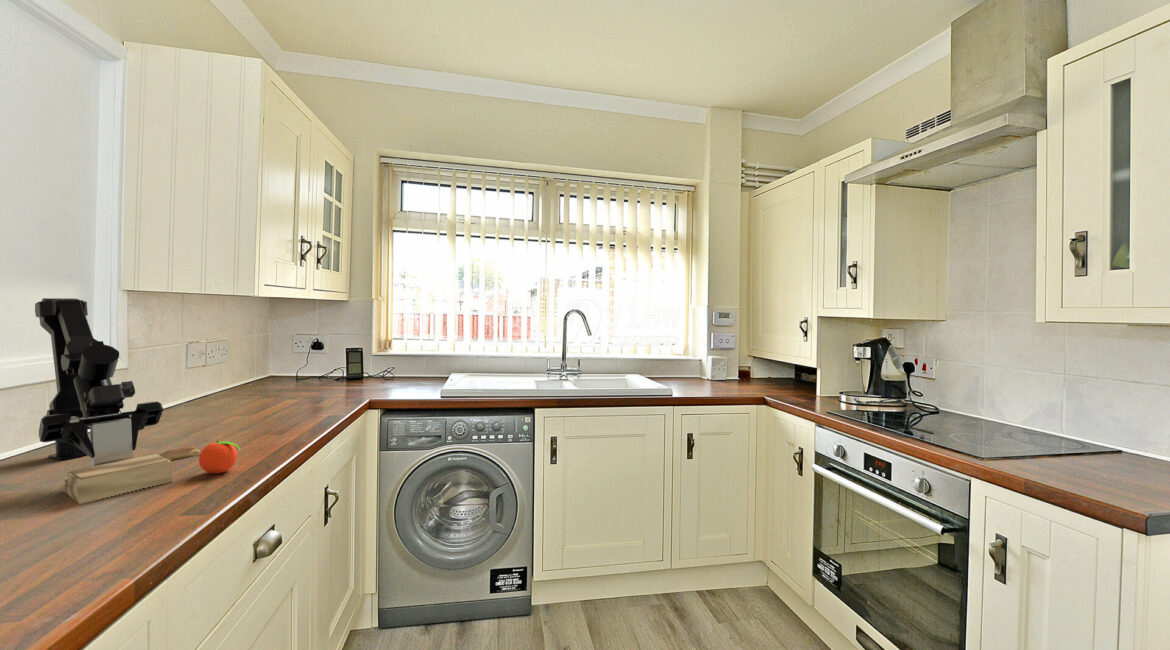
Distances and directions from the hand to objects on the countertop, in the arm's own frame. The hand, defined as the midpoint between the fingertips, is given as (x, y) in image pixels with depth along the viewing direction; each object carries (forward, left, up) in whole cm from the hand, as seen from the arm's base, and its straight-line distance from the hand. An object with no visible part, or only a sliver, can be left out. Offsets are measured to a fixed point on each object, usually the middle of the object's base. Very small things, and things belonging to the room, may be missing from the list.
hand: (114, 452), depth 104 cm
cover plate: (-1, 0, -7) cm, 7 cm away
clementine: (+13, +13, -7) cm, 20 cm away
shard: (-8, +17, -7) cm, 20 cm away
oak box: (+2, 0, -7) cm, 7 cm away
